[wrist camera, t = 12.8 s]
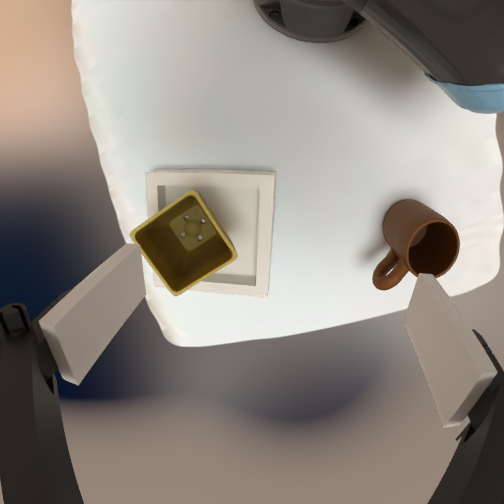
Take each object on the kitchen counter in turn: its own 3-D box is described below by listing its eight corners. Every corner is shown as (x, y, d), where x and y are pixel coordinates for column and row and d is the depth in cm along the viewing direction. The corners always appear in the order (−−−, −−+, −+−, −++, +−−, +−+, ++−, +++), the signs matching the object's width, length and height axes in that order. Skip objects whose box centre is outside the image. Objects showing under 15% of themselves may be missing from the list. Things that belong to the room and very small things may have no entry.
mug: (376, 279, 41) (394, 315, 33) (346, 242, 40) (361, 273, 31) (438, 227, 37) (470, 253, 28) (411, 186, 36) (443, 203, 27)
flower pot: (148, 218, 39) (127, 234, 30) (201, 181, 38) (193, 187, 29) (184, 269, 41) (174, 298, 33) (237, 236, 41) (240, 257, 32)
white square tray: (156, 169, 39) (145, 173, 35) (275, 171, 37) (274, 175, 34) (163, 275, 45) (154, 286, 42) (269, 285, 43) (267, 297, 40)
